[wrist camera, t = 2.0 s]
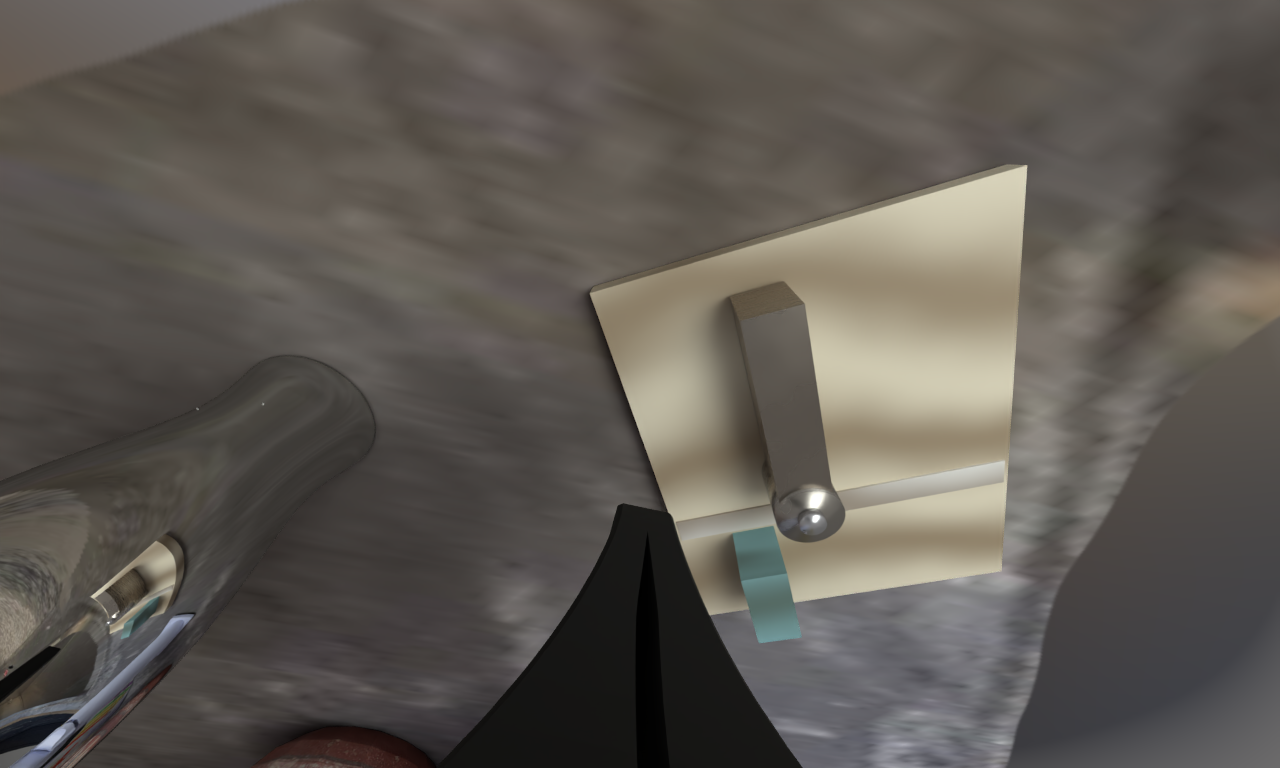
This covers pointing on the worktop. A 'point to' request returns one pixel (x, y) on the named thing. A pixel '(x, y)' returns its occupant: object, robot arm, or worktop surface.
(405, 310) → the worktop surface
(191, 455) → the beer glass
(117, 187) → the worktop surface
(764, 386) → the swing bar
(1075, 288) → the worktop surface
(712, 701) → the robot arm
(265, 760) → the pottery
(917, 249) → the board
